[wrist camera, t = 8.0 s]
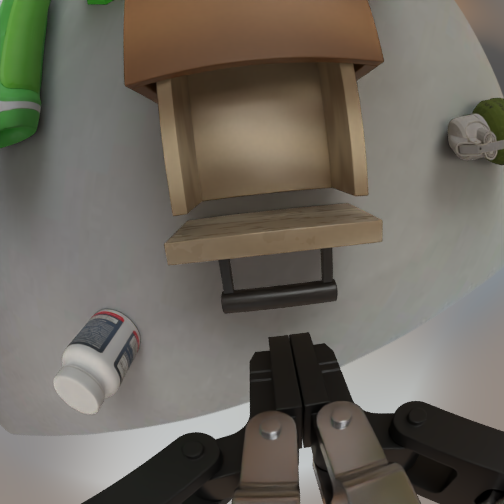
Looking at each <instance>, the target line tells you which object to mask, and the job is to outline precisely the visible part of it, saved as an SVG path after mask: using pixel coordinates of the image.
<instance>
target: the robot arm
mask: <svg viewBox="0 0 504 504" xmlns="http://www.w3.org/2000/svg"><path fill="white" fill-rule="evenodd" d="M268 338H269V347H270V351H261V352H255V354H254V355H253V357H252V359H251V360H250V417H249V420H248V422H247V424H246V425H245V426H244V428H242V429H241V430H240V431H238V432H237V433H235V434H232V435H229V436H226V437H222V438H219V439H216V440H215V439H214V438H213V437H211V436H209V435H207V434H204V433H197V432H195V433H188V434H185V435H183V436H181V437H179V438H177V439H176V440H175V441H173V442H172V443H171V444H170V445H168V446H167V447H166V448H164V449H163V450H162V451H160V452H159V453H158V454H156V455H155V456H153V457H152V458H151V459H149V460H148V461H146V462H145V463H144V464H142V465H141V466H139V467H138V468H137V469H135V470H134V471H132V472H131V473H129V474H128V475H126V476H125V477H123V478H122V479H120V480H119V481H117V482H116V483H114V484H113V485H111V486H110V487H108V488H107V489H105V490H103V491H102V492H100V493H99V494H97V495H95V496H93V497H92V498H90V499H88V500H87V501H85V502H83V503H81V504H227V503H228V502H229V501H230V500H231V499H232V504H300V489H299V474H298V473H299V472H298V465H299V449H300V448H302V440H303V445H304V448H306V447H311V448H312V453H313V469H314V472H315V476H316V479H317V483H318V486H319V490H320V494H321V497H322V501H323V504H421V502H420V500H419V498H418V496H417V494H418V495H420V496H422V497H425V498H427V499H430V500H432V501H434V502H437V503H439V504H504V432H503V431H500V430H497V429H494V428H491V427H488V426H485V425H483V424H480V423H477V422H474V421H471V420H469V419H466V418H463V417H460V416H458V415H455V414H453V413H450V412H447V411H445V410H442V409H440V408H437V407H435V406H432V405H430V404H427V403H424V402H420V401H411V402H407V403H405V404H403V405H402V406H400V407H399V408H398V409H397V410H396V412H395V413H390V414H389V413H387V414H378V413H370V412H366V411H364V410H362V408H360V406H358V405H357V404H355V403H354V402H353V400H352V398H351V395H350V392H349V390H348V387H347V384H346V382H345V379H344V377H343V374H342V372H341V370H340V367H339V364H338V362H337V359H336V357H335V354H334V352H333V350H332V349H330V348H329V347H328V346H327V345H326V344H325V343H323V344H317V345H313V343H312V340H311V337H310V334H309V332H307V333H299V334H292V335H289V337H288V335H284V336H275V337H268Z"/></svg>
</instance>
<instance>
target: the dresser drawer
mask: <svg viewBox="0 0 504 504" xmlns="http://www.w3.org/2000/svg"><path fill="white" fill-rule="evenodd" d="M156 86H157V98H158V109H159V119H160V128H161V137H162V145H163V153H164V161H165V168H166V175H167V182H168V189H169V195H170V201H171V207H172V213H173V216H178V215H185V214H188V213H189V212H190V211H191V210H193V209H194V208H195V207H196V206H197V205H199V204H200V203H201V202H202V201H209V200H216V199H224V198H232V197H240V196H248V195H257V194H266V193H276V192H286V191H296V190H308V189H320V188H335V189H337V190H340V191H343V192H346V193H348V194H351V195H354V196H367V195H368V178H367V163H366V151H365V141H364V131H363V123H362V115H361V108H360V101H359V94H358V88H357V82H356V76H355V71H354V66H353V63H333V62H294V63H273V64H260V65H249V66H240V67H232V68H225V69H218V70H211V71H206V72H200V73H194V74H189V75H184V76H180V77H175V78H171V79H166V80H162V81H158V82H156ZM375 242H382V220H381V219H379V218H377V217H375V216H373V215H371V214H369V213H367V212H365V211H363V210H361V209H359V208H357V207H355V206H353V205H351V204H349V203H344V204H332V205H321V206H310V207H299V208H289V209H279V210H270V211H261V212H252V213H243V214H235V215H227V216H219V217H211V218H203V219H196V220H188V221H187V222H186V223H185V224H184V225H183V226H182V227H181V228H180V229H179V230H178V231H177V232H176V233H175V234H174V235H173V236H172V237H171V238H170V239H169V240H168V241H167V242H166V243H165V244H164V247H165V252H166V257H167V262H168V265H177V264H187V263H196V262H205V261H214V260H219V266H220V272H221V278H222V284H223V290H224V291H223V292H222V294H221V302H222V309H223V312H224V313H225V314H227V313H238V312H249V311H258V310H268V309H277V308H285V307H294V306H302V305H310V304H317V303H324V302H331V301H336V300H337V285H336V282H335V280H334V279H333V262H332V247H340V246H349V245H358V244H366V243H375ZM314 249H321V278H322V280H320V281H312V282H304V283H295V284H287V285H278V286H269V287H260V288H251V289H241V290H234V283H233V276H232V270H231V263H230V259H233V258H242V257H251V256H260V255H269V254H278V253H287V252H296V251H305V250H314Z"/></svg>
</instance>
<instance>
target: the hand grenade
mask: <svg viewBox="0 0 504 504" xmlns="http://www.w3.org/2000/svg"><path fill="white" fill-rule="evenodd" d="M448 142H449V145H450V147H451V148H452V150H453V151H454V153H455V154H456V155H457V156H458V157H459V158H461V159H462V160H472V159H473V160H475V159H479V158H484V157H485V158H486V159H487V160H488V161H490V162H492V163H495V164H499V165H504V99H502V98H492V99H490V100H485V101H481V102H480V103H479V104H478V105H477V106H476V108H475V109H474V110H473V113H472V114H470V115H467V116H462V117H458V118H454V119H452V120H451V121H450V123H449V125H448Z"/></svg>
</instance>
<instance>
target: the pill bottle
mask: <svg viewBox="0 0 504 504" xmlns="http://www.w3.org/2000/svg"><path fill="white" fill-rule="evenodd" d="M139 346H140V335H139V332H138V330H137V328H136V327H135V325H134V324H133V323H132V321H131V320H130V319H128V318H127V317H126V316H125V315H123V314H122V313H120V312H118V311H115V310H109V309H106V310H101V311H99V312H97V313H96V314H94V316H93V317H92V318H91V319H90V320H89V321H88V323H87V324H86V325H85V326H84V327H83V329H82V330H81V331H80V332H79V333H78V335H77V336H76V337H75V338H74V339H73V341H72V342H71V343H70V344H69V345H68V347H67V348H66V349H65V351H64V353H63V355H62V365H63V367H62V368H61V370H60V371H59V372H58V374H57V375H56V377H55V378H54V387H55V390H56V392H57V393H58V395H59V396H60V397H61V398H62V399H63V401H64V402H66V403H67V404H68V405H69V406H71V407H72V408H74V409H75V410H77V411H79V412H82V413H85V414H95V413H97V412H98V411H99V409H100V407H101V405H102V404H103V402H104V398H106V397H110V396H112V395H113V394H115V393H116V392H117V390H118V388H119V387H120V385H121V383H122V381H123V379H124V377H125V375H126V373H127V371H128V369H129V367H130V365H131V363H132V361H133V359H134V357H135V355H136V353H137V351H138V349H139Z"/></svg>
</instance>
